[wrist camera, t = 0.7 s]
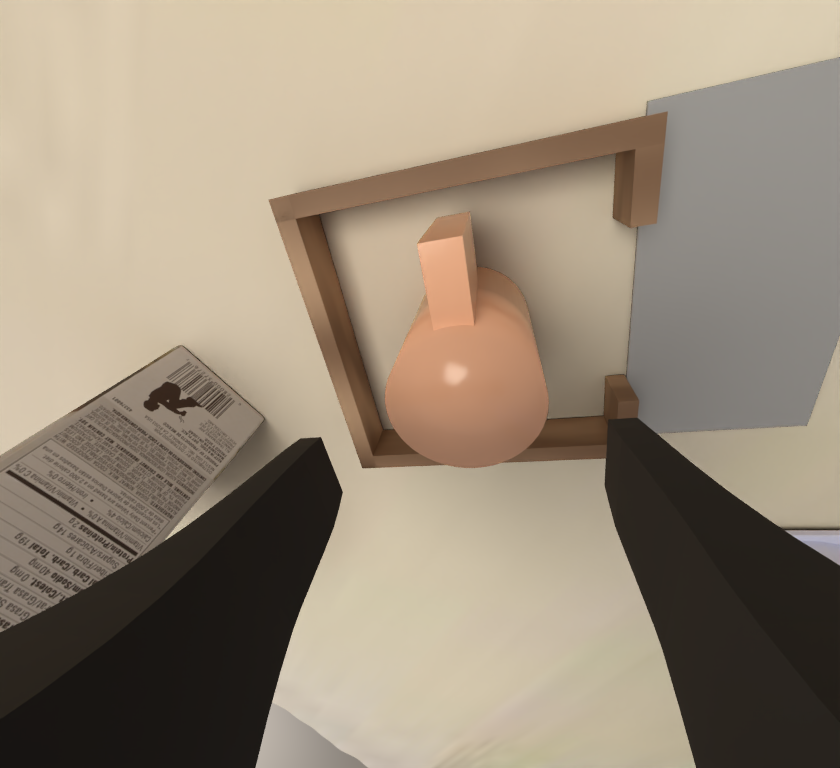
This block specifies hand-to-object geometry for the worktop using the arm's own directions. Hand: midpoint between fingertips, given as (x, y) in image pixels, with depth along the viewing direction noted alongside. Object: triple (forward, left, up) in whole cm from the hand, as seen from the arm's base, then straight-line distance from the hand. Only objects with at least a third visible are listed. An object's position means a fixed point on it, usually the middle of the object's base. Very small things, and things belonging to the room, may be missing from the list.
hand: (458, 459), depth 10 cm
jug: (+1, 0, -9) cm, 9 cm away
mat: (0, -11, -9) cm, 14 cm away
